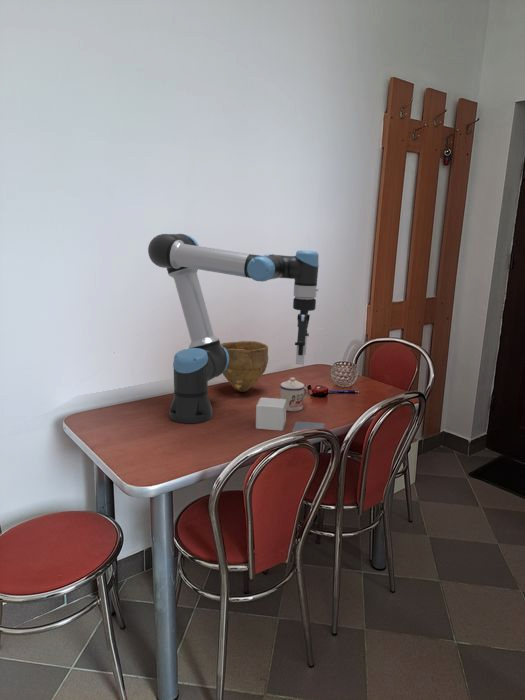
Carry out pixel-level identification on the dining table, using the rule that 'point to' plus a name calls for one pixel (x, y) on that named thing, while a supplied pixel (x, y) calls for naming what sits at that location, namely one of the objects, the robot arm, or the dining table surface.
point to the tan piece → (245, 363)
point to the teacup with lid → (293, 394)
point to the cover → (271, 414)
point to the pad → (306, 425)
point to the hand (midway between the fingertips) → (300, 359)
